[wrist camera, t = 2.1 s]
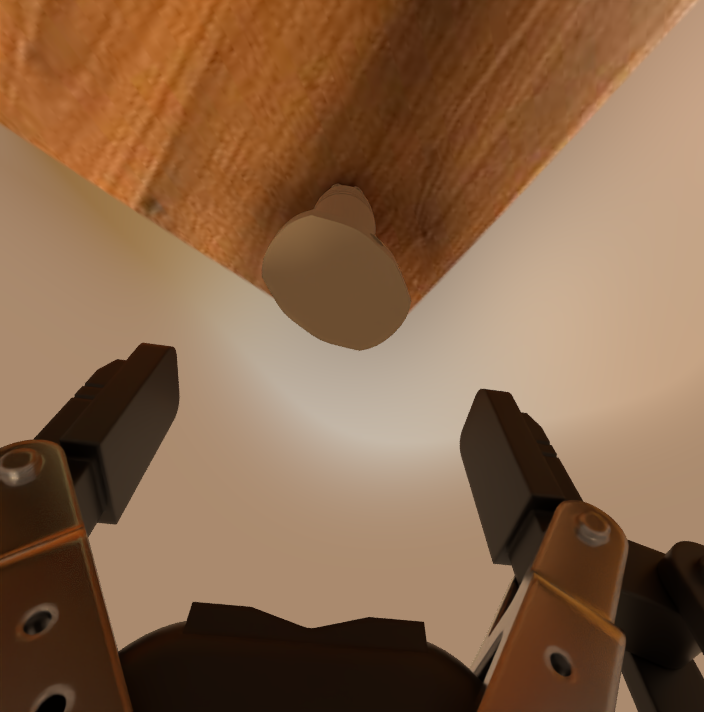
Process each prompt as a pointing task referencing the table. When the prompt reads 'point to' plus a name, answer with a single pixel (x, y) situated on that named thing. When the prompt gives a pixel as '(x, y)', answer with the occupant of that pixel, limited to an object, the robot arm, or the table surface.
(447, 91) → the table surface
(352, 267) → the handle
